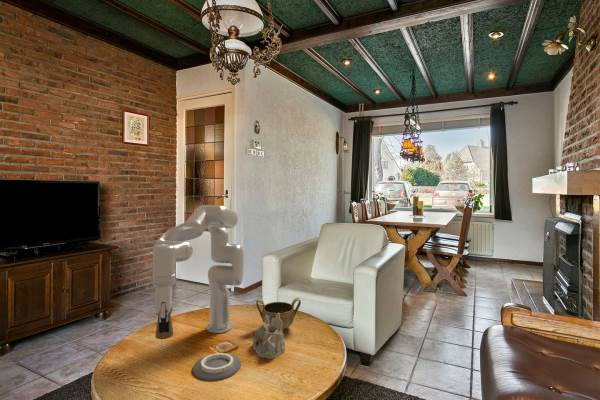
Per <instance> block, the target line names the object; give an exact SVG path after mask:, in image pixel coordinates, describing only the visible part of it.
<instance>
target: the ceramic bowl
mask: <svg viewBox="0 0 600 400" xmlns="http://www.w3.org/2000/svg"><path fill="white" fill-rule="evenodd" d="M296 302H298V303H297V305H296V307H295V304H296ZM259 303H261V304H262V310H261V308H260V306H259ZM301 303H302V301H301V298H299V297H295V298H293V300H292V302H291V303H289V302H286V301H272V302H268V303H266V304H265V302H264V300H263V299H261V298H258V299H257V300H256V303H255V305H256V308H257V309H258V313H259V315H260V317H261V320H262V324H263V323H264V319H265V316H266V315H267V316H269V324H270V326H271V321H272V318H275V317H276V315H277V314H278V313H280V320H282V323H283V331H284V330H287V329H288V328H290V327H291V326H292V324H293V323H294V319H295V317H296V314H297V313H298V310H299V309H300V306H301ZM294 307H295V308H294Z"/></svg>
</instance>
